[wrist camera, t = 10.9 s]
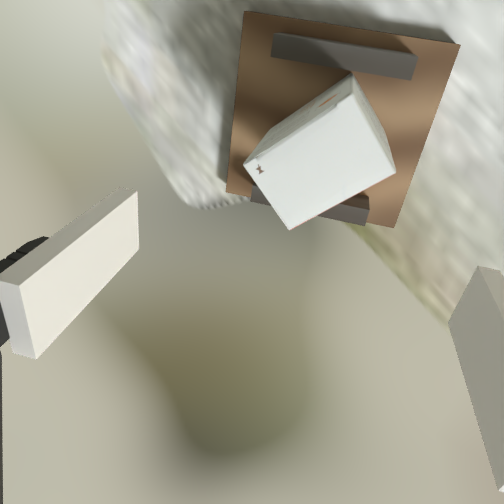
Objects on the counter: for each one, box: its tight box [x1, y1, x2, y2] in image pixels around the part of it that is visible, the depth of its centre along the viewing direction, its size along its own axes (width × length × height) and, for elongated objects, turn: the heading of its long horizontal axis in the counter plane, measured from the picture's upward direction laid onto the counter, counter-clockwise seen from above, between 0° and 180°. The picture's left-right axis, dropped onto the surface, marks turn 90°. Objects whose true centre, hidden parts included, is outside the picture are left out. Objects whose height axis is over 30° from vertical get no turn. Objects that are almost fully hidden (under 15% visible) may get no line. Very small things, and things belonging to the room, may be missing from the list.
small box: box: [243, 73, 396, 230], centre depth 29 cm, size 8×6×10 cm
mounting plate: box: [226, 11, 461, 228], centre depth 33 cm, size 15×16×4 cm
